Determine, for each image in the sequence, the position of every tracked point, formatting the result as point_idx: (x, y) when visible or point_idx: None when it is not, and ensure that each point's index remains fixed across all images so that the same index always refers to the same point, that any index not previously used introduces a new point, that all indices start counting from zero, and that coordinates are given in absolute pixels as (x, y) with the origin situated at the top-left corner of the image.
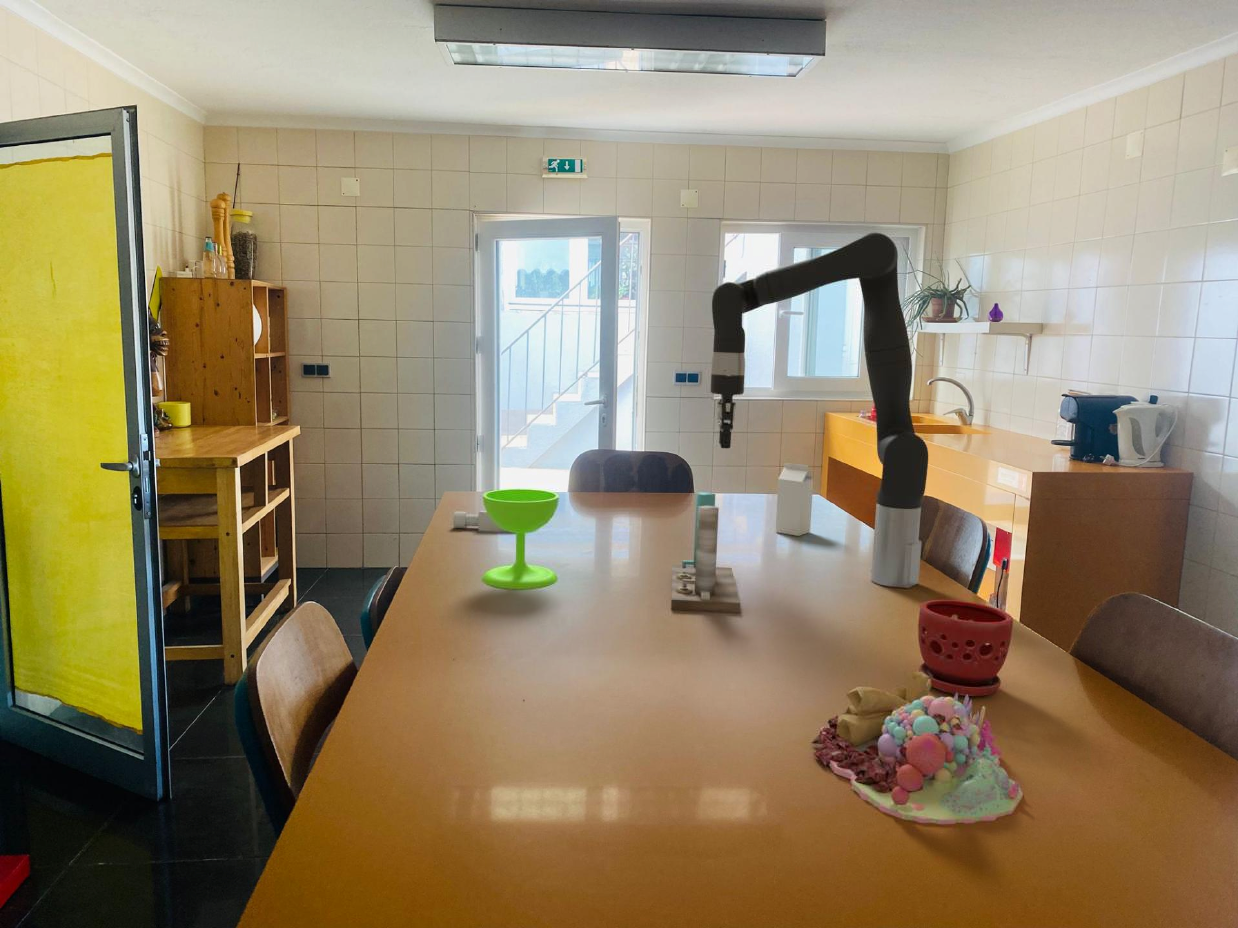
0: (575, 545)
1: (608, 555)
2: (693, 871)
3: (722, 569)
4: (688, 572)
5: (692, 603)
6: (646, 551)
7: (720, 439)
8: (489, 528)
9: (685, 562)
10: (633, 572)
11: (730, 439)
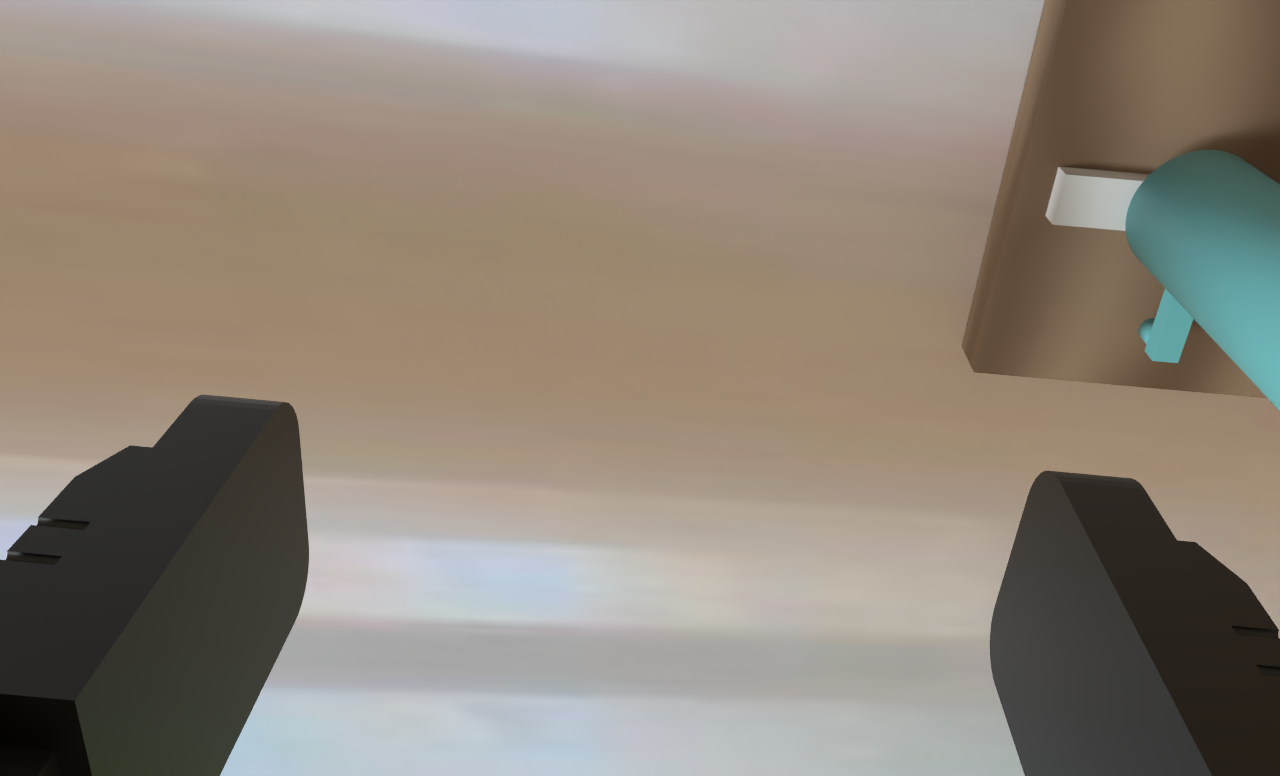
0: (357, 768)
1: (549, 637)
2: None
3: (1116, 48)
4: None
5: None
6: (411, 448)
7: (266, 654)
8: None
9: (1183, 341)
10: (918, 539)
11: (1214, 623)
